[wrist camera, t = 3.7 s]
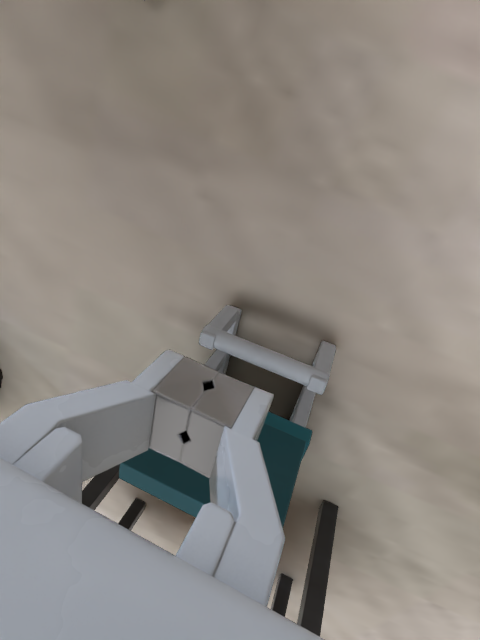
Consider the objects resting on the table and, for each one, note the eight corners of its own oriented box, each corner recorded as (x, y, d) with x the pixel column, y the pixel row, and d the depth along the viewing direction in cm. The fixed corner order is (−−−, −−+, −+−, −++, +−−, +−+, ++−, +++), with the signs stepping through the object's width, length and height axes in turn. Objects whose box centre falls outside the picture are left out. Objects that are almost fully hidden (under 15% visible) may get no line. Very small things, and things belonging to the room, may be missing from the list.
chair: (226, 295, 24) (118, 405, 15) (344, 340, 23) (310, 495, 13) (197, 425, 31) (109, 560, 21) (287, 467, 29) (236, 632, 20)
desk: (143, 413, 33) (2, 577, 21) (341, 506, 29) (307, 765, 17) (133, 504, 40) (24, 663, 28) (290, 586, 36) (242, 808, 25)
